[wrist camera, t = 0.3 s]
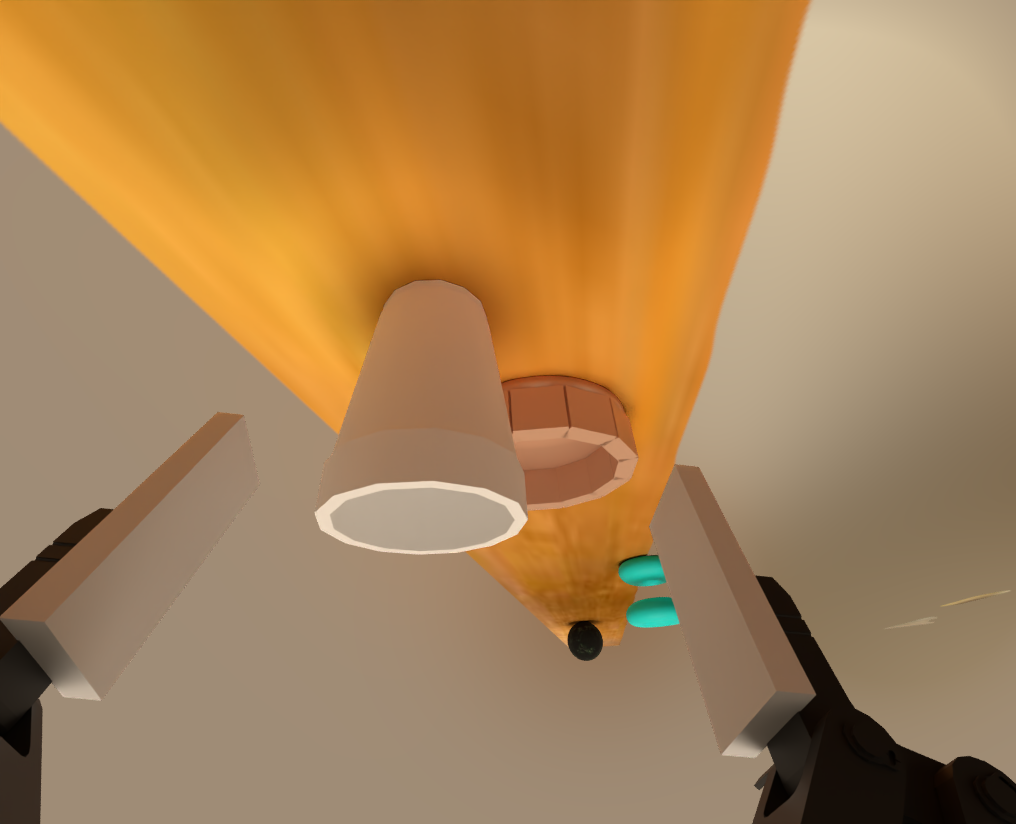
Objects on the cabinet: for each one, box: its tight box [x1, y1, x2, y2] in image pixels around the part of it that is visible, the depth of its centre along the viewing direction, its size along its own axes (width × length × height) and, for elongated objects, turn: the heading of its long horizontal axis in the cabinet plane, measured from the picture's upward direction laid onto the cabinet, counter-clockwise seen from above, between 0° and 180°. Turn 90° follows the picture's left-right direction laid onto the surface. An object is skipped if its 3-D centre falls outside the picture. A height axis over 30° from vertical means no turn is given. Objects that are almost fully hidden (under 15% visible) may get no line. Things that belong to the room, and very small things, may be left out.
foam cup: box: [315, 280, 528, 554], centre depth 24 cm, size 10×9×13 cm
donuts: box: [619, 555, 679, 627], centre depth 76 cm, size 10×10×10 cm
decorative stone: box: [568, 622, 603, 661], centre depth 131 cm, size 10×10×10 cm
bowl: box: [501, 376, 638, 511], centre depth 38 cm, size 15×15×4 cm
